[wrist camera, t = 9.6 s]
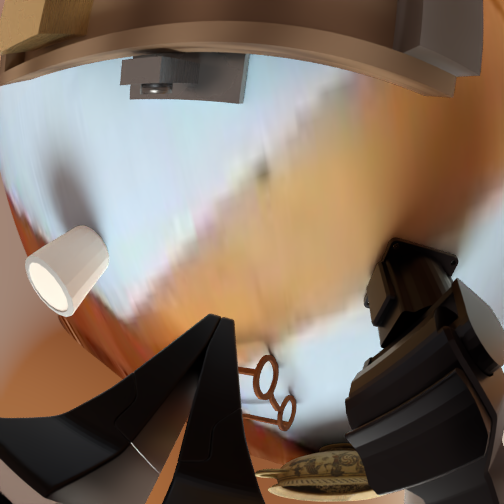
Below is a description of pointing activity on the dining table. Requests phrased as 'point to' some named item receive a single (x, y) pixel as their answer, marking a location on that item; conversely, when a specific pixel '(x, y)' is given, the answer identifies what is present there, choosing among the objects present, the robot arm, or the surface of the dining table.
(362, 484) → the ceramic bowl
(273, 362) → the glasses
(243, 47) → the beam
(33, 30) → the brass block
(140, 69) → the pivot stand
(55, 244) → the white cup
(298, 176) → the dining table surface
